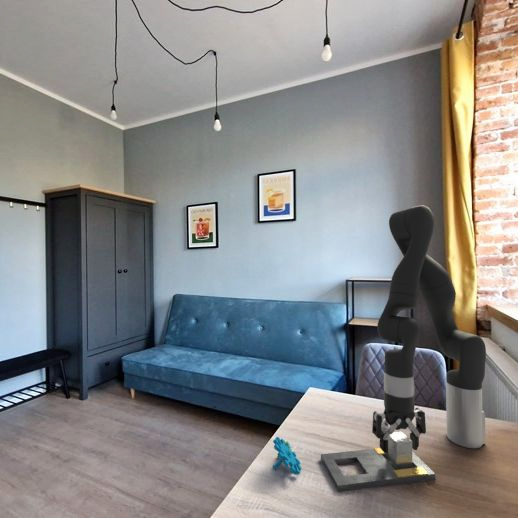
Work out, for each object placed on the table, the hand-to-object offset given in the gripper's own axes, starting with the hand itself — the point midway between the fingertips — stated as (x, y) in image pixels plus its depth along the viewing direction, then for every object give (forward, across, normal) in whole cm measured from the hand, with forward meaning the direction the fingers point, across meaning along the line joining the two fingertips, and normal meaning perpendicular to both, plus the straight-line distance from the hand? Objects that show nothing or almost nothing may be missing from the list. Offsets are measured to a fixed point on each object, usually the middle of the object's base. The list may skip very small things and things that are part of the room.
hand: (399, 450), depth 83 cm
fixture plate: (+4, +7, 0) cm, 8 cm away
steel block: (+4, 0, 0) cm, 4 cm away
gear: (+5, +30, -4) cm, 31 cm away
